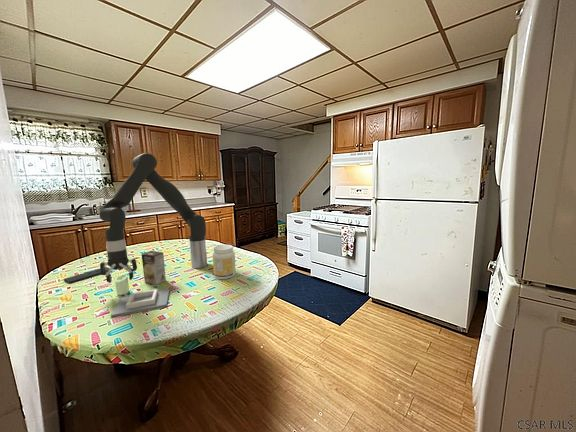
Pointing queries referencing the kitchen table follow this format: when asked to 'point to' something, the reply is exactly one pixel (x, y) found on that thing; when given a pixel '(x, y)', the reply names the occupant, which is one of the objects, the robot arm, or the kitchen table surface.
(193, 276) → the kitchen table surface
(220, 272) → the supplement tub
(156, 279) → the coffee box
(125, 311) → the holder board
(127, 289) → the candle
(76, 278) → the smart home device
